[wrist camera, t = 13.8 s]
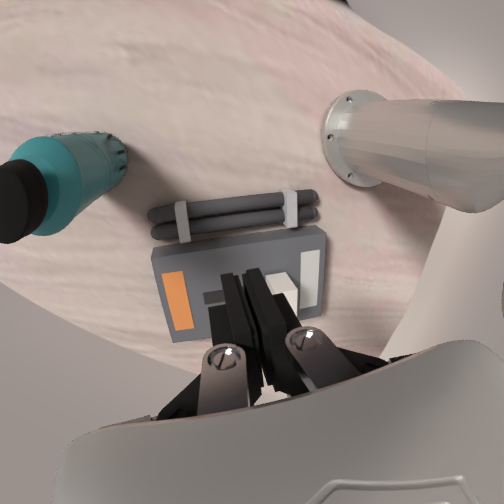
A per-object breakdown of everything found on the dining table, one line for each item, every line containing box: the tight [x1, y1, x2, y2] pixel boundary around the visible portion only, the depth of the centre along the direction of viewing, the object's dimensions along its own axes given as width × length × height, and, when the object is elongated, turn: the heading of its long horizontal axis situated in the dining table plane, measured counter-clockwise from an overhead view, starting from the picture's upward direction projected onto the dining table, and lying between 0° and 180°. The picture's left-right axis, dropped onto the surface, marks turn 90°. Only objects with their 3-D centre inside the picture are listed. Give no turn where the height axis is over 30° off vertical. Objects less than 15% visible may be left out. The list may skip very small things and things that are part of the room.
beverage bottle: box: [0, 131, 128, 244], centre depth 18 cm, size 6×7×20 cm
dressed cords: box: [148, 188, 318, 243], centre depth 32 cm, size 20×4×2 cm, turn 94°
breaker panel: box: [151, 225, 326, 343], centre depth 35 cm, size 20×12×3 cm, turn 94°
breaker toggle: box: [266, 272, 298, 316], centre depth 32 cm, size 2×4×4 cm, turn 4°
